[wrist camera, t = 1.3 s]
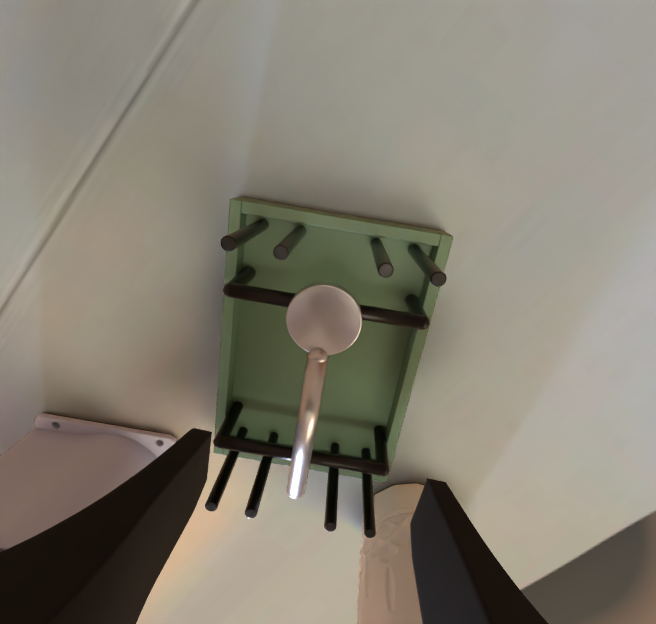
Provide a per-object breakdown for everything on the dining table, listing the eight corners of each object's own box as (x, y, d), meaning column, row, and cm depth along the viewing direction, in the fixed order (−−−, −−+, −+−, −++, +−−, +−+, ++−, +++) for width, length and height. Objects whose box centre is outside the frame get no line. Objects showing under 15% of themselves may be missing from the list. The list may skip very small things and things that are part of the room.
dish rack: (377, 457, 24) (385, 541, 19) (230, 431, 24) (193, 508, 19) (431, 247, 20) (463, 275, 14) (247, 216, 20) (205, 232, 14)
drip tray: (384, 462, 25) (386, 482, 24) (222, 435, 25) (213, 453, 24) (445, 231, 20) (453, 236, 18) (240, 196, 20) (229, 198, 18)
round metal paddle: (326, 493, 21) (325, 508, 20) (265, 483, 21) (261, 497, 20) (368, 287, 17) (369, 294, 16) (292, 275, 17) (289, 281, 16)
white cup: (429, 456, 25) (477, 627, 15) (486, 532, 27) (559, 725, 17) (332, 505, 27) (321, 683, 17) (391, 572, 29) (411, 766, 19)
